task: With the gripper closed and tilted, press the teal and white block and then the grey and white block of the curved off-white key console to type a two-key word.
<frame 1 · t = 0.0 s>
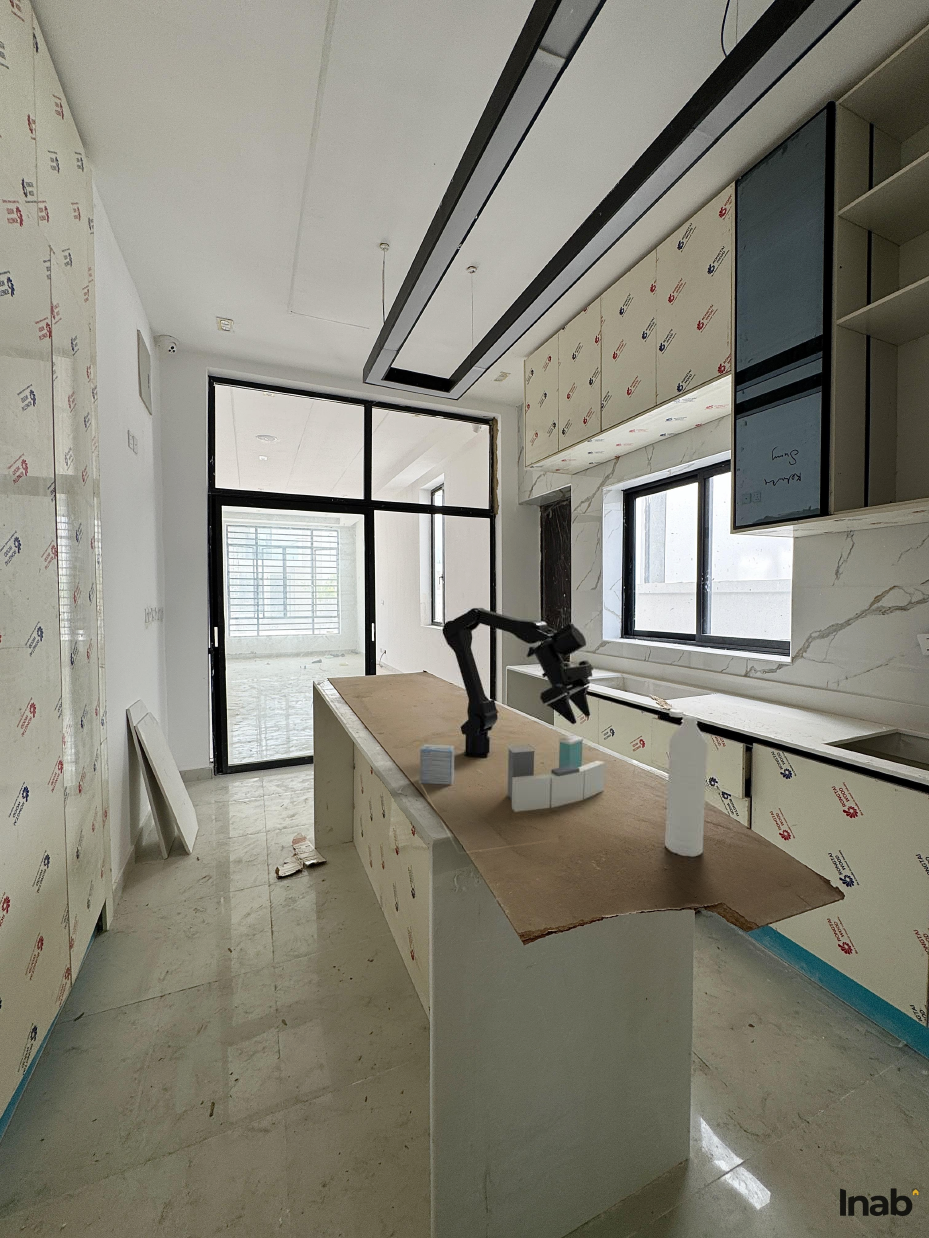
hand: (581, 719, 132), 15 cm above the table, tool tilted 35°, fingers open, 9 cm apart
medicine box: (437, 782, 128), on the table
water bottle: (679, 846, 99), on the table
grey and white block: (520, 771, 119), point 6 cm above the table, slide at 0.0 cm
key console: (554, 796, 121), on the table
teal and white block: (570, 762, 126), point 6 cm above the table, slide at 0.0 cm
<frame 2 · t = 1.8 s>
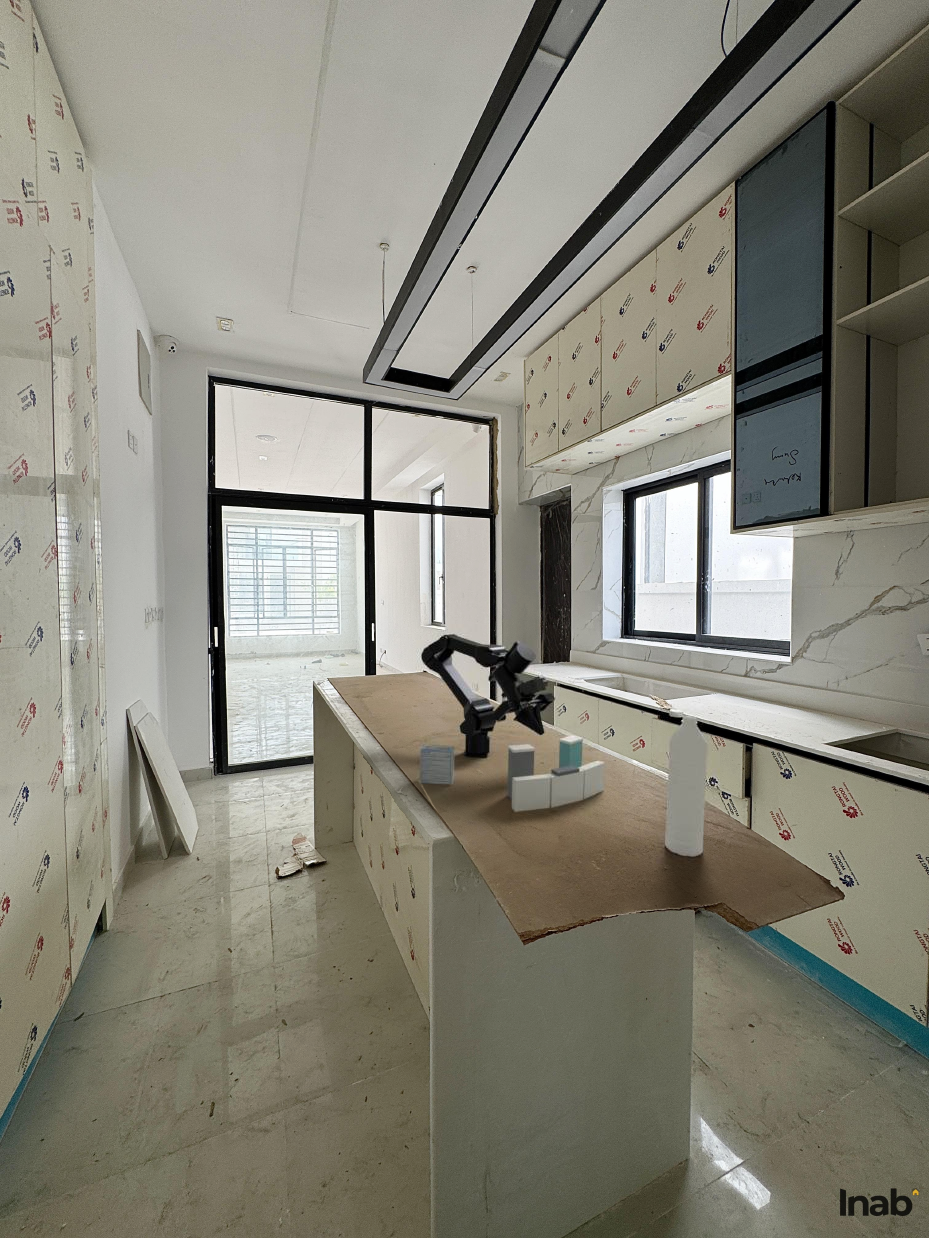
hand: (542, 734, 132), 11 cm above the table, tool tilted 45°, fingers closed
nothing on the table moved.
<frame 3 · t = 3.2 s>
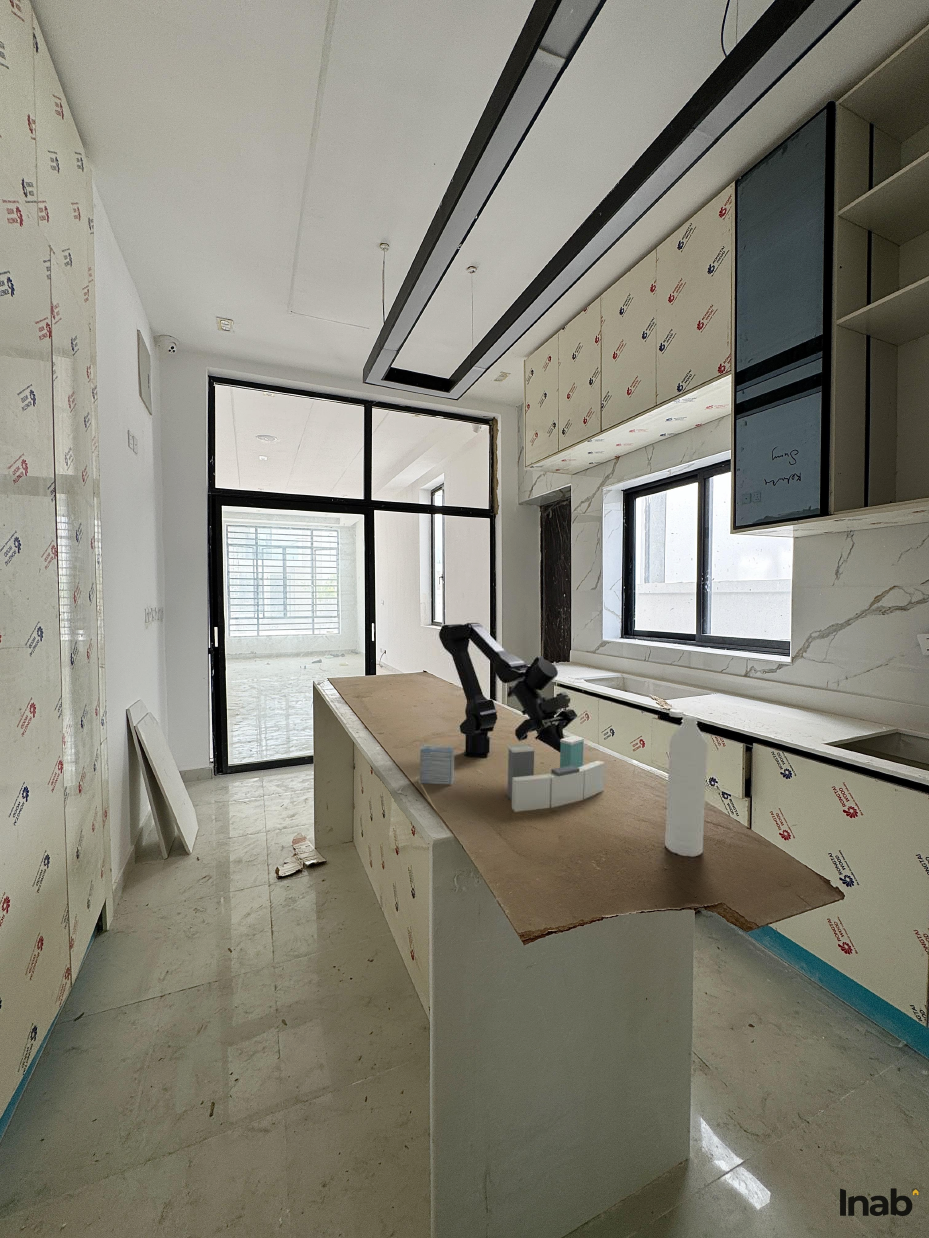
hand: (565, 753, 127), 8 cm above the table, tool tilted 45°, fingers closed, pressing on teal and white block
teal and white block: (571, 762, 126), point 6 cm above the table, slide at 0.3 cm, touching gripper
everything else where it was.
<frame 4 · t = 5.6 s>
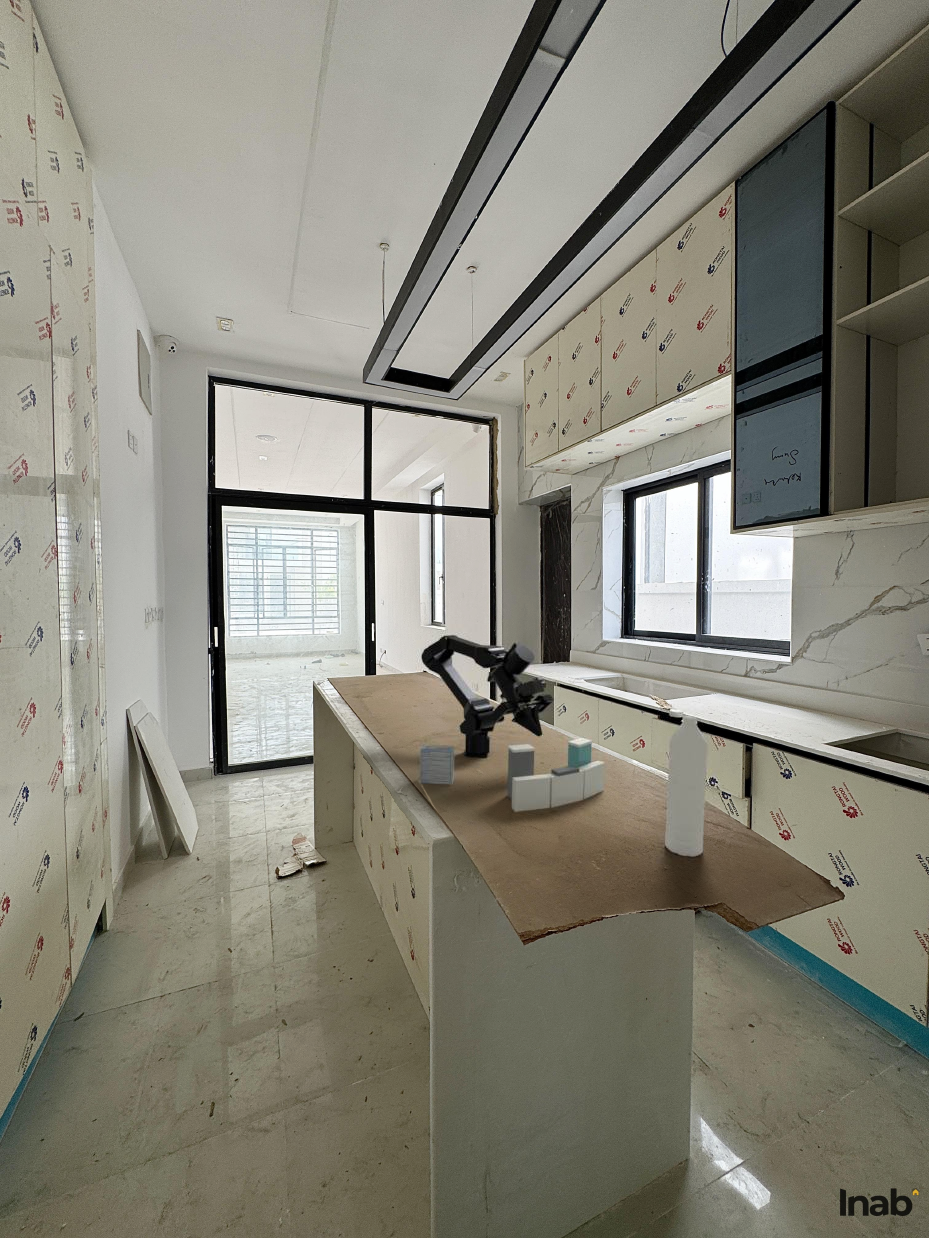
hand: (540, 735, 132), 11 cm above the table, tool tilted 45°, fingers closed
teal and white block: (579, 765, 124), point 6 cm above the table, slide at 2.6 cm
everything else where it was.
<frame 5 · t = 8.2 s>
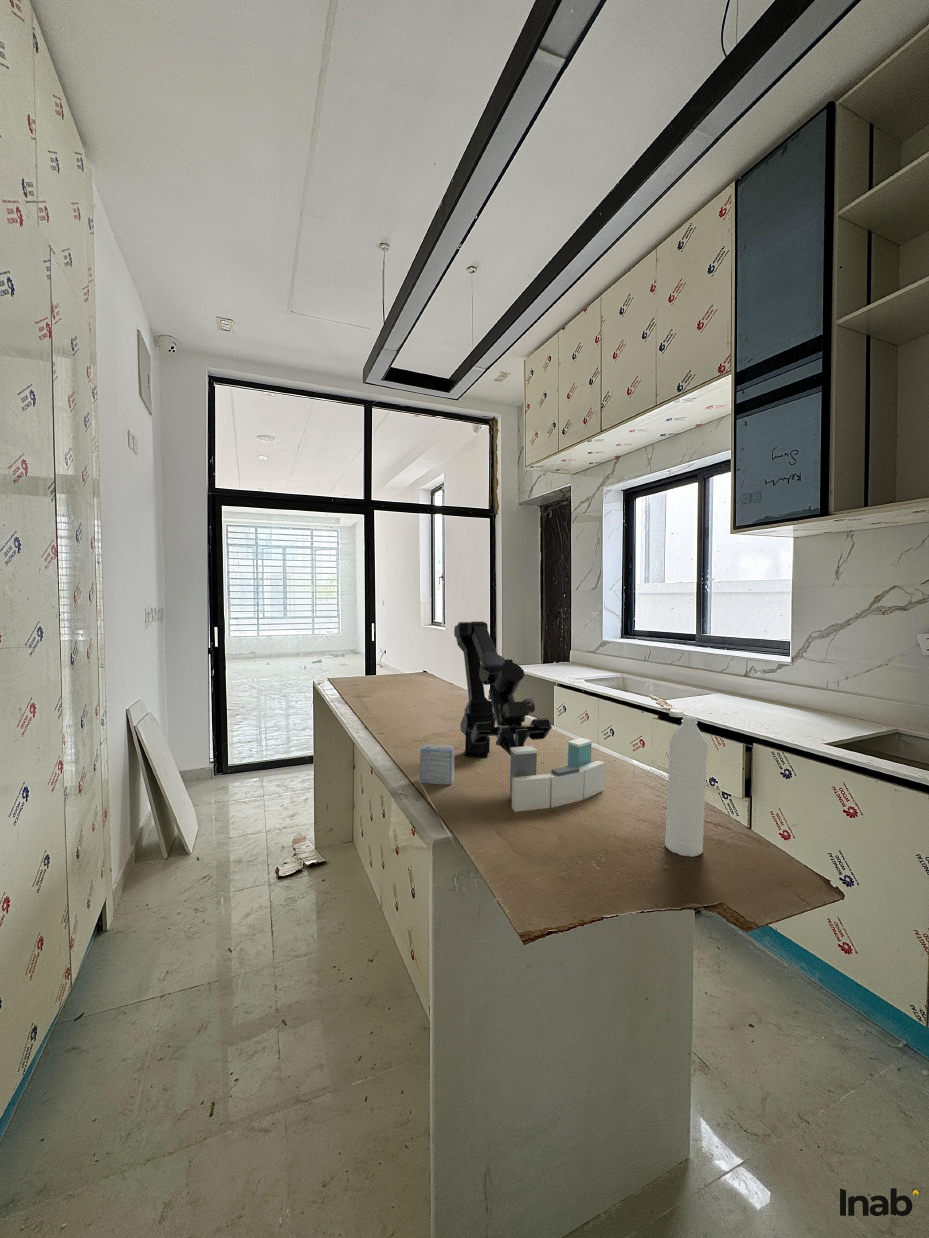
hand: (520, 763, 119), 8 cm above the table, tool tilted 45°, fingers closed, pressing on grey and white block
grey and white block: (523, 774, 118), point 6 cm above the table, slide at 1.4 cm, touching gripper
everything else where it was.
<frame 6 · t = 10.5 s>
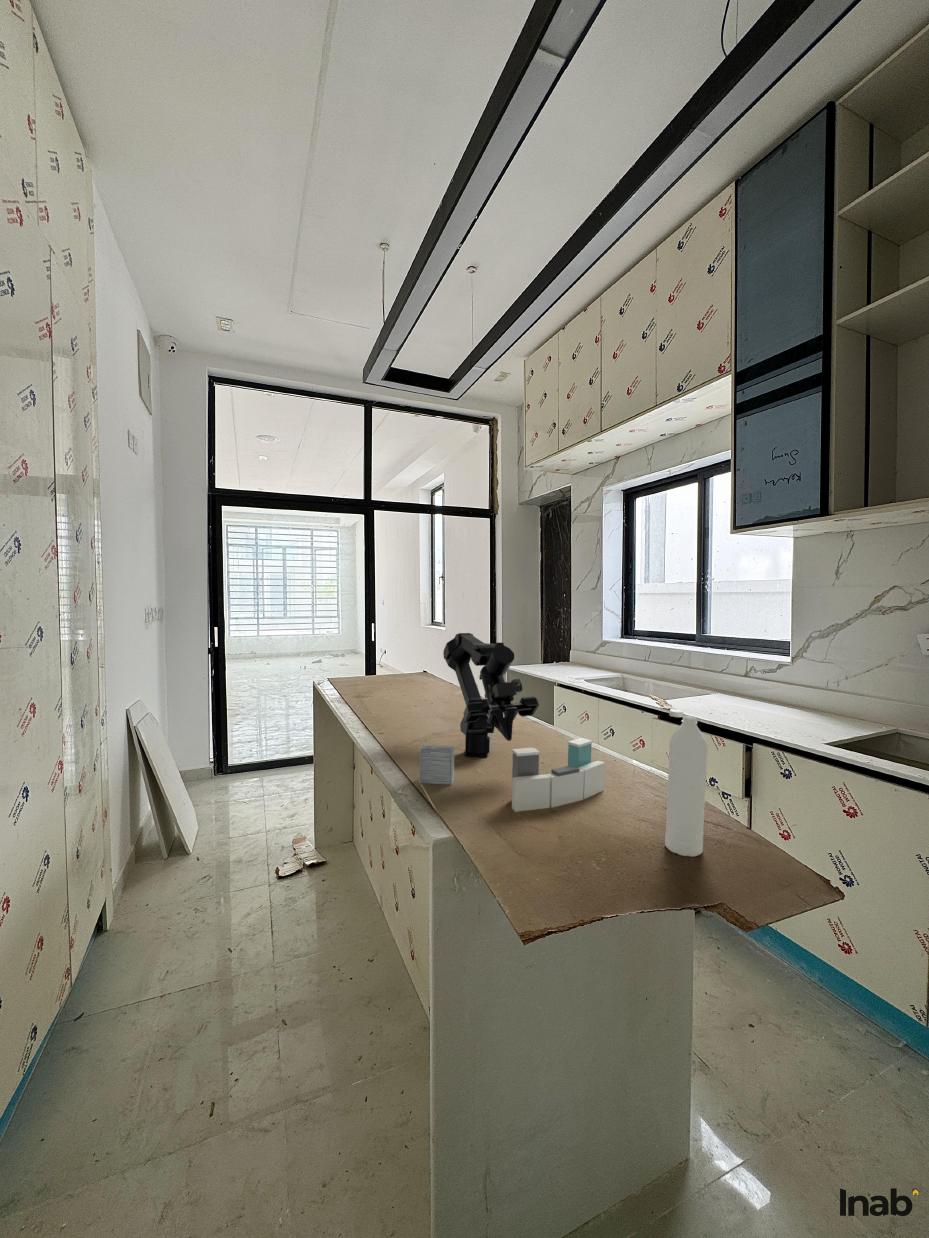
hand: (509, 740, 128), 11 cm above the table, tool tilted 40°, fingers closed
grey and white block: (525, 776, 117), point 6 cm above the table, slide at 2.6 cm
everything else where it was.
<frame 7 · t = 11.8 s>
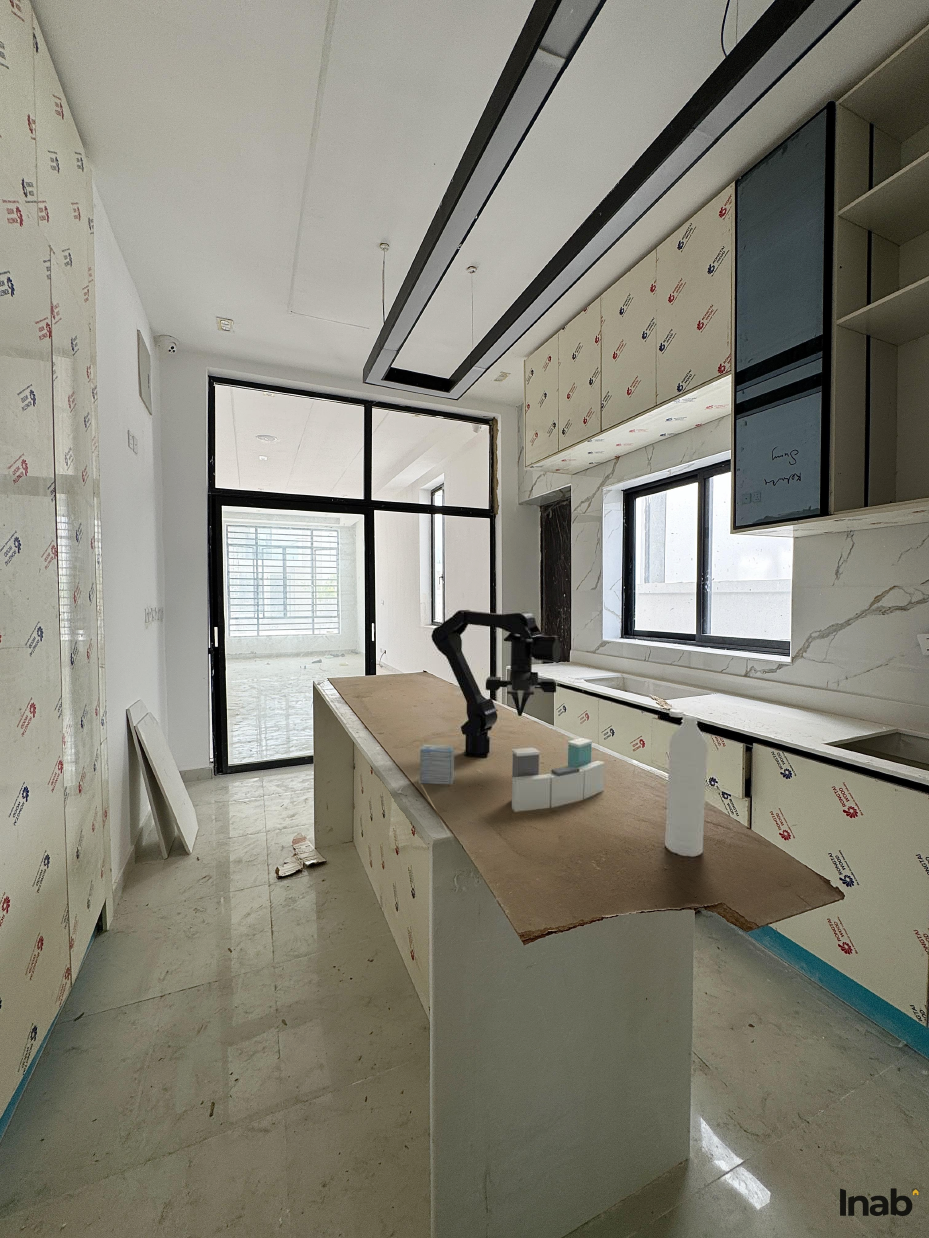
hand: (519, 715, 143), 13 cm above the table, tool pointing down, fingers closed
nothing on the table moved.
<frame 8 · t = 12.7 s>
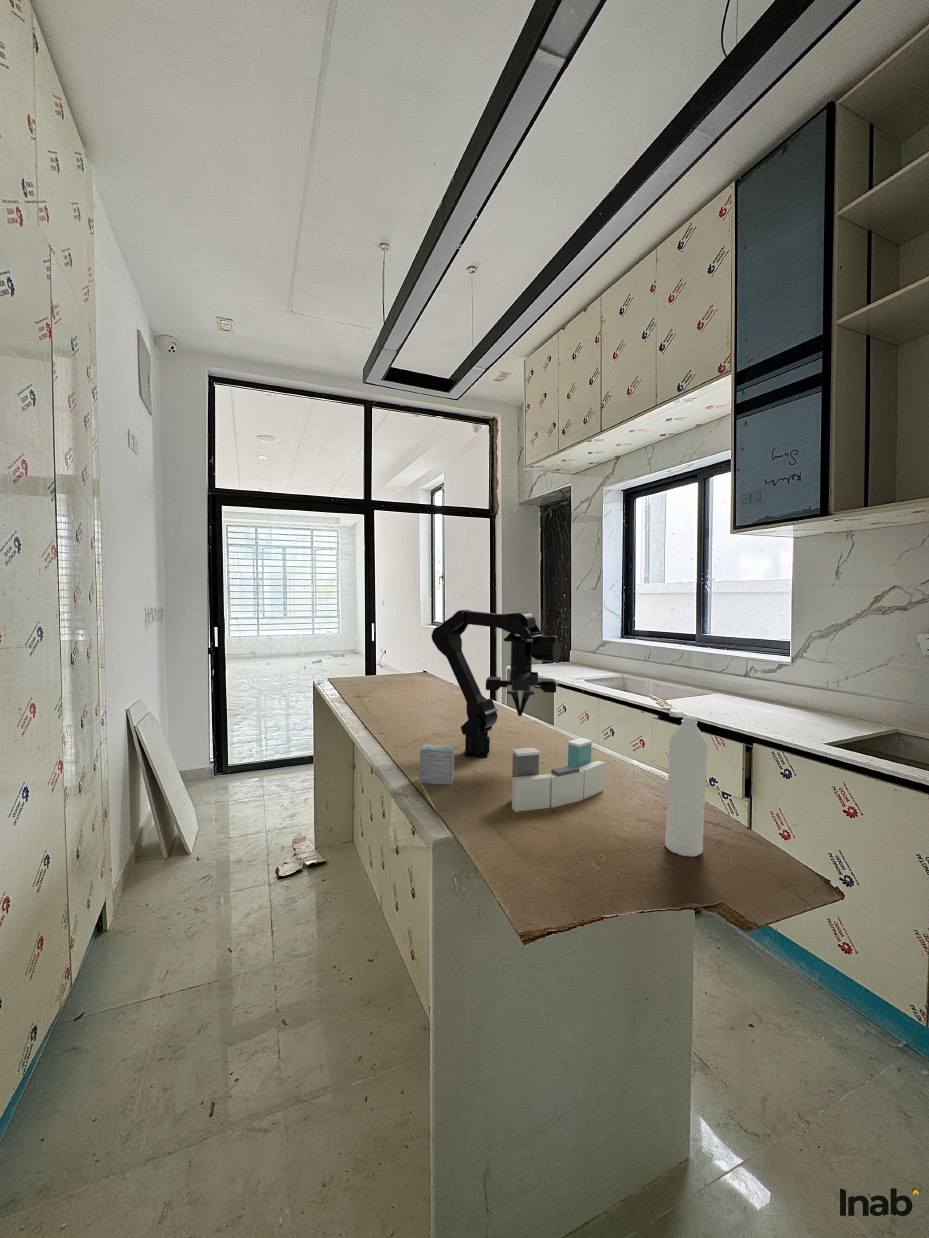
hand: (519, 715, 143), 13 cm above the table, tool pointing down, fingers closed
nothing on the table moved.
at the end: teal and white block slide at 2.6 cm; grey and white block slide at 2.6 cm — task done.
